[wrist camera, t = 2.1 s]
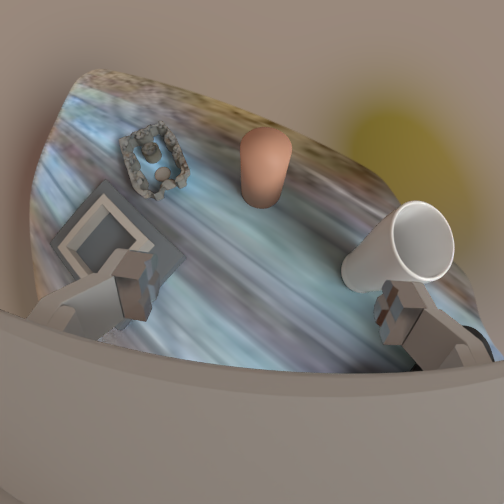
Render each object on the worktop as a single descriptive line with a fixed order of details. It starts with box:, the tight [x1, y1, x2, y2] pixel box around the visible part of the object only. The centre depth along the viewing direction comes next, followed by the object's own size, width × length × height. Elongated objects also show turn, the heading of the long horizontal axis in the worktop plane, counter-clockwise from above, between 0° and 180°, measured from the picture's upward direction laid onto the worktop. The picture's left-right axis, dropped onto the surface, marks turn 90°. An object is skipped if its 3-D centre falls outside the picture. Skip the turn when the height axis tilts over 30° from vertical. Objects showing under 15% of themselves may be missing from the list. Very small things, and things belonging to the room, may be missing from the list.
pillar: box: [240, 127, 292, 209], centre depth 32 cm, size 5×5×10 cm
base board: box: [50, 179, 186, 330], centre depth 33 cm, size 12×16×4 cm
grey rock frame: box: [119, 121, 190, 201], centre depth 36 cm, size 11×8×4 cm
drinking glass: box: [341, 201, 454, 293], centre depth 27 cm, size 7×7×15 cm
